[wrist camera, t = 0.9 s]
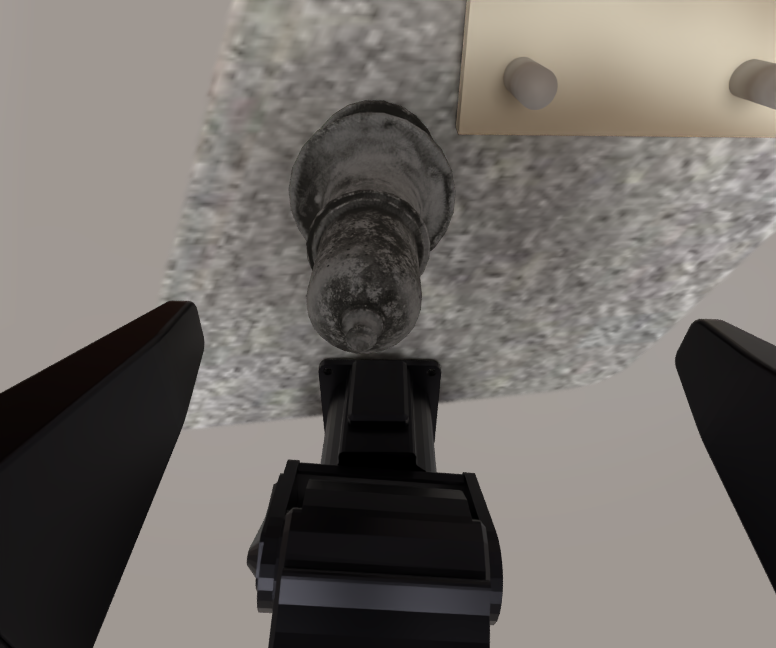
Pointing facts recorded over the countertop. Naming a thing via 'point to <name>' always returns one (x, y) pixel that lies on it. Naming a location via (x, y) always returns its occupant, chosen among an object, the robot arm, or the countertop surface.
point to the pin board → (619, 68)
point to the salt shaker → (369, 221)
